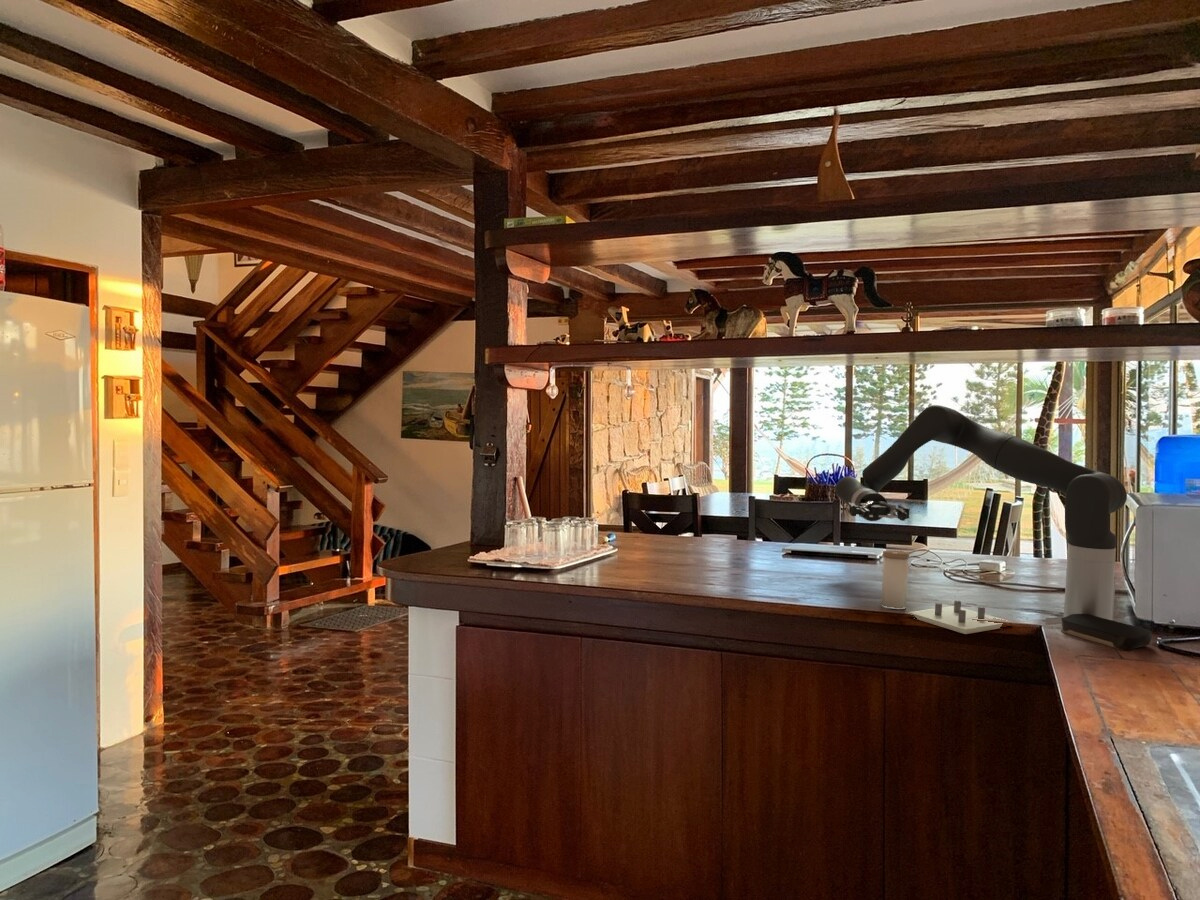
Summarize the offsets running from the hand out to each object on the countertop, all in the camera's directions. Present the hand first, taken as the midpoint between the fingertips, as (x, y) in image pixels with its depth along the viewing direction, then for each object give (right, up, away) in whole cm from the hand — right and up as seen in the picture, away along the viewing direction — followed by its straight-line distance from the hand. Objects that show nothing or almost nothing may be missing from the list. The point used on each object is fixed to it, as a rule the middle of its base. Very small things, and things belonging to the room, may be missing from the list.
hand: (886, 515), depth 201 cm
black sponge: (+35, -24, -30) cm, 52 cm away
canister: (-1, -21, -7) cm, 22 cm away
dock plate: (+10, -22, -18) cm, 30 cm away
